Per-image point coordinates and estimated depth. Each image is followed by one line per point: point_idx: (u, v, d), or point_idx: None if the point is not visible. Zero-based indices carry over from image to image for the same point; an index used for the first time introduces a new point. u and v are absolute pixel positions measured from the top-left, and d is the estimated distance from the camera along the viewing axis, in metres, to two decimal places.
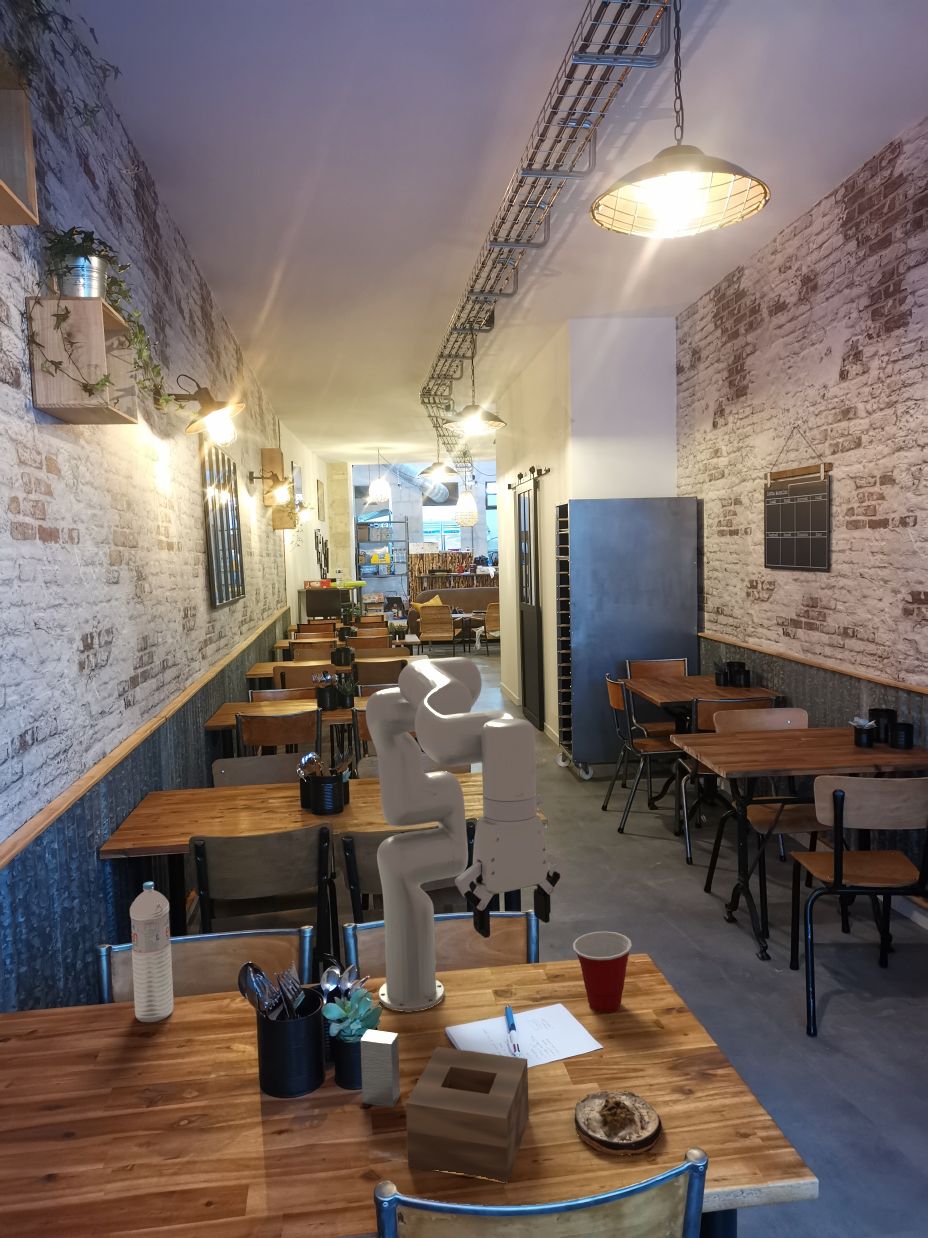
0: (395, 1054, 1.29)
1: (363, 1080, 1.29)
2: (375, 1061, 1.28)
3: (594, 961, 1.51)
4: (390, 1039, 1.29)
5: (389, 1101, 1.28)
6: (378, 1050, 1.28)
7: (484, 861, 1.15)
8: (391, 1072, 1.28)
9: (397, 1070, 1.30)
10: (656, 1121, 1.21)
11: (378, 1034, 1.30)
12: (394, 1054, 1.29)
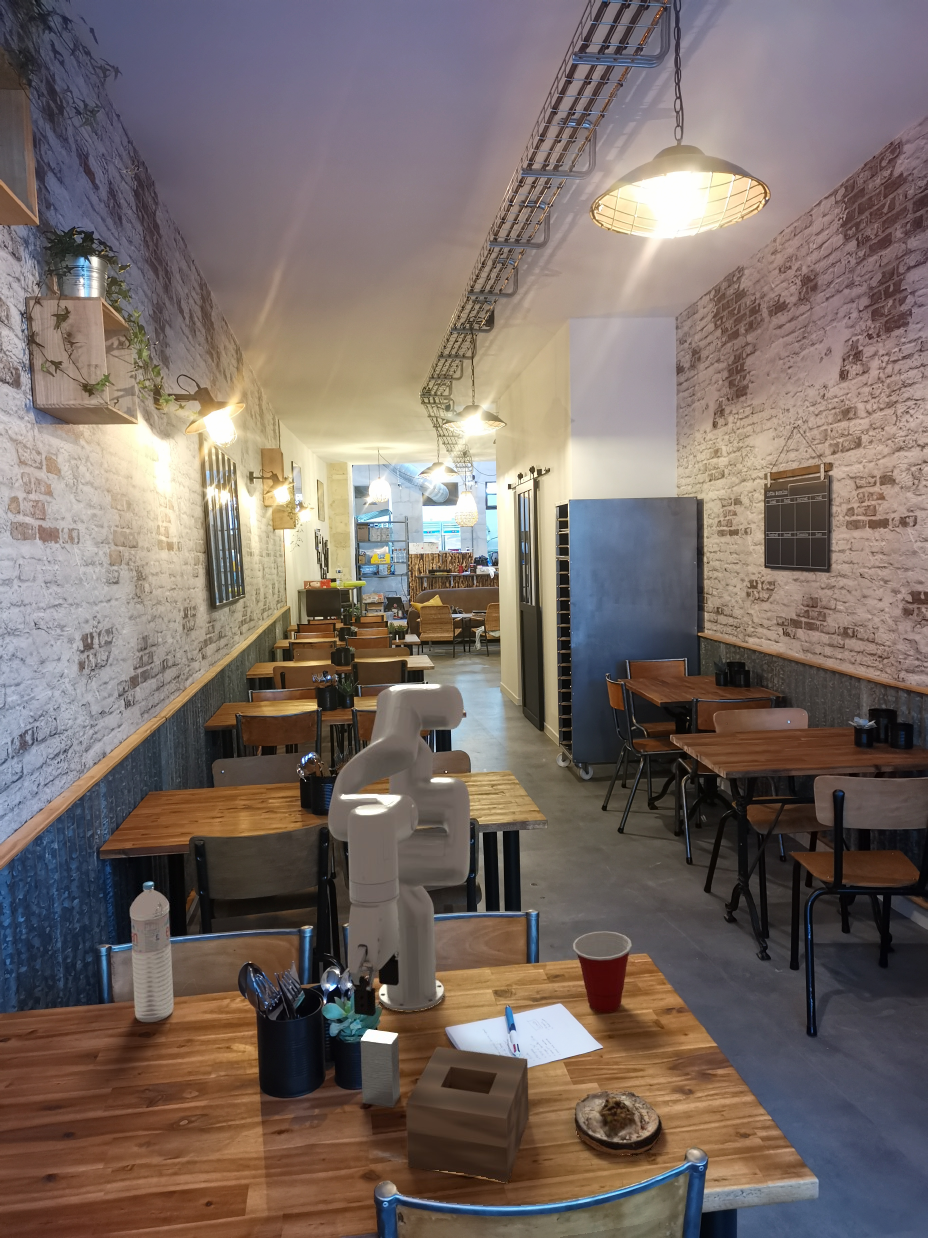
0: (395, 1054, 1.29)
1: (363, 1080, 1.29)
2: (375, 1061, 1.28)
3: (594, 961, 1.51)
4: (391, 1039, 1.29)
5: (389, 1101, 1.28)
6: (378, 1050, 1.28)
7: (370, 944, 1.23)
8: (391, 1072, 1.28)
9: (397, 1070, 1.30)
10: (656, 1121, 1.21)
11: (378, 1034, 1.30)
12: (394, 1054, 1.29)
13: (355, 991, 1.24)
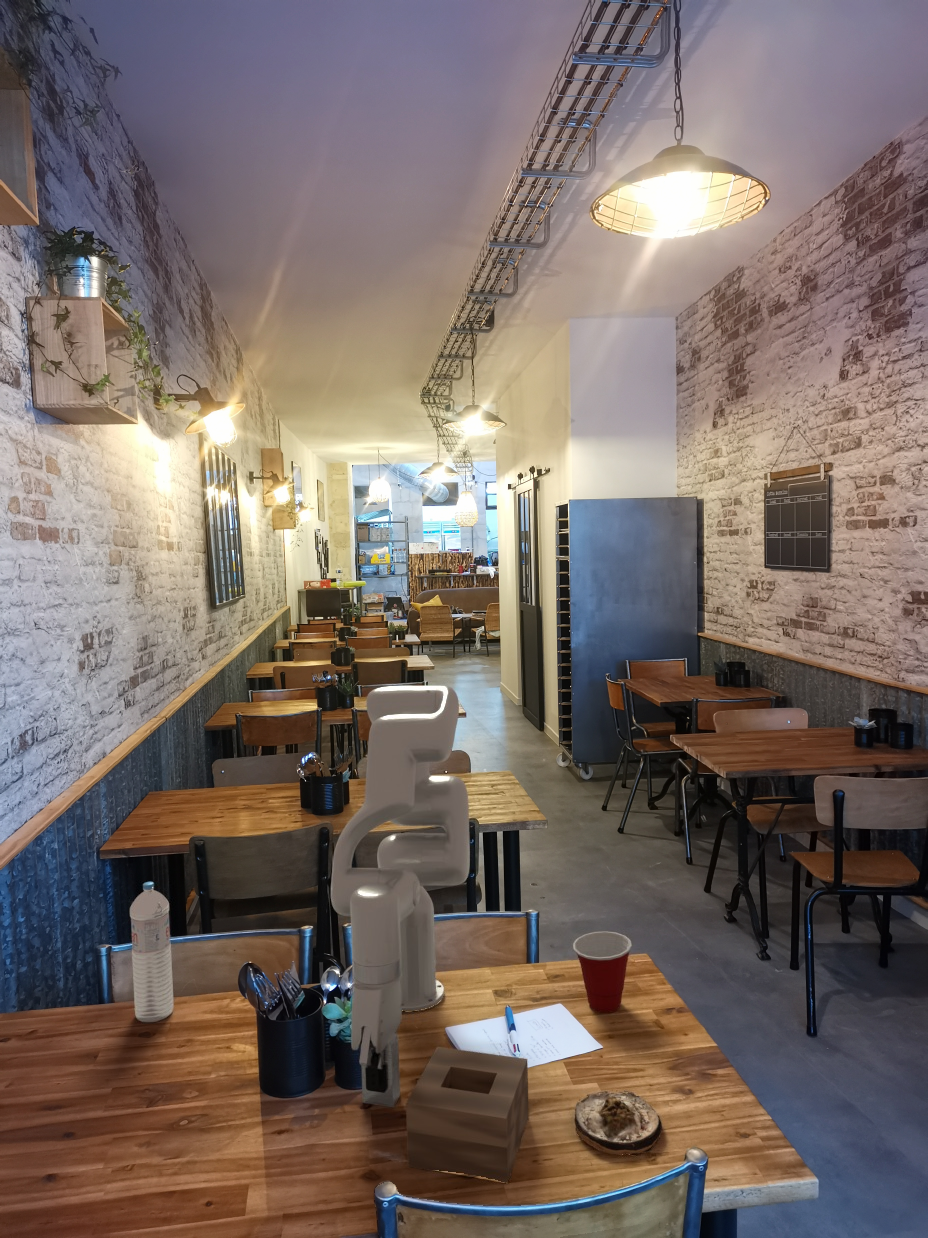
0: (395, 1054, 1.29)
1: (363, 1080, 1.29)
2: None
3: (594, 961, 1.51)
4: None
5: (389, 1101, 1.28)
6: None
7: (373, 1026, 1.24)
8: (391, 1072, 1.28)
9: (397, 1070, 1.30)
10: (656, 1121, 1.21)
11: None
12: (394, 1054, 1.29)
13: (367, 1068, 1.28)
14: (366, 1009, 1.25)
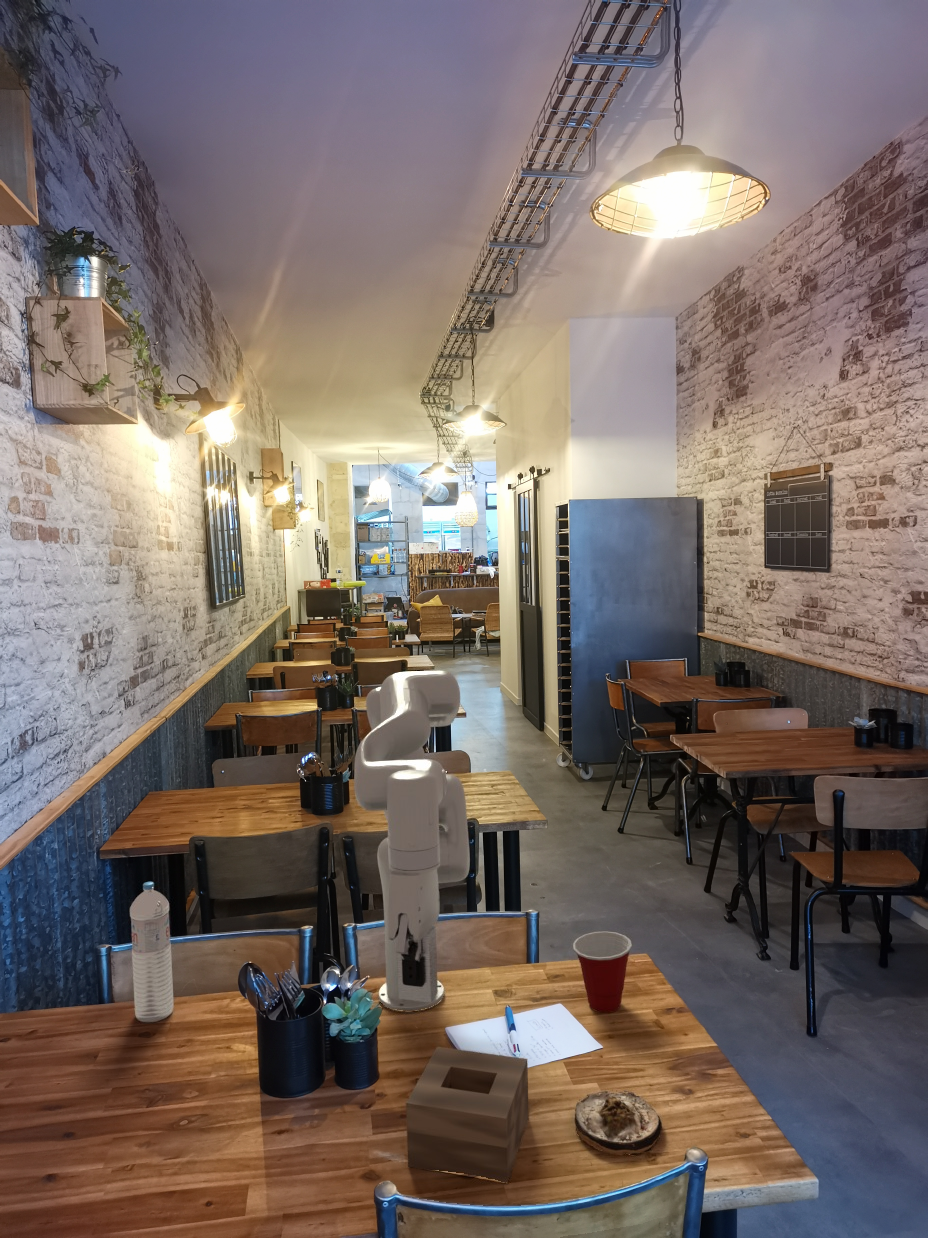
0: (432, 947, 1.23)
1: (399, 974, 1.23)
2: None
3: (594, 961, 1.51)
4: None
5: (426, 996, 1.22)
6: None
7: (411, 913, 1.18)
8: (429, 965, 1.22)
9: (435, 965, 1.24)
10: (656, 1121, 1.21)
11: None
12: (431, 947, 1.22)
13: (403, 961, 1.22)
14: (403, 895, 1.19)
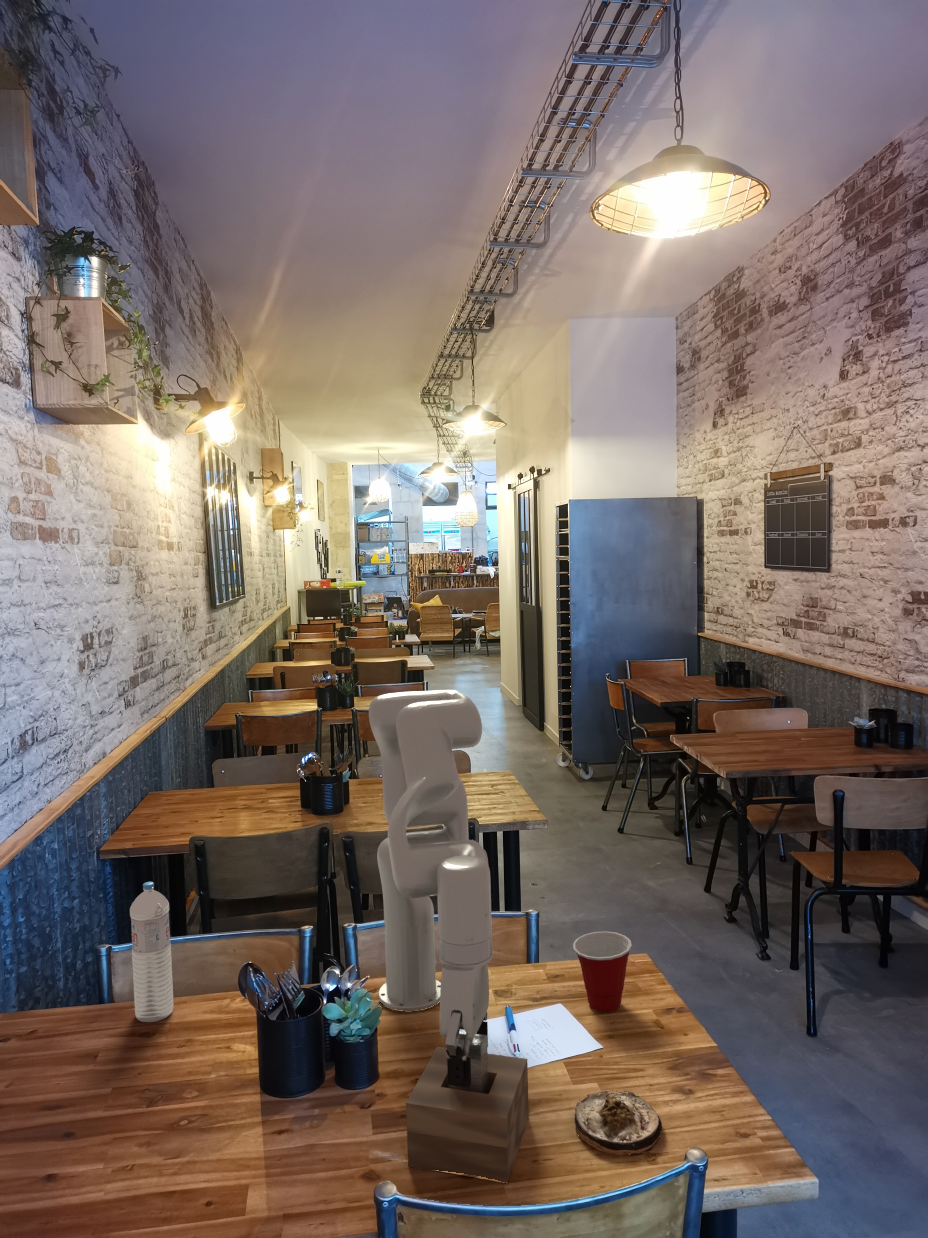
0: (484, 1058, 1.19)
1: (450, 1085, 1.19)
2: None
3: (594, 961, 1.51)
4: (480, 1042, 1.18)
5: None
6: None
7: (465, 1010, 1.14)
8: (481, 1077, 1.17)
9: (486, 1075, 1.19)
10: (656, 1121, 1.21)
11: None
12: (483, 1058, 1.18)
13: (449, 1060, 1.15)
14: (457, 991, 1.14)
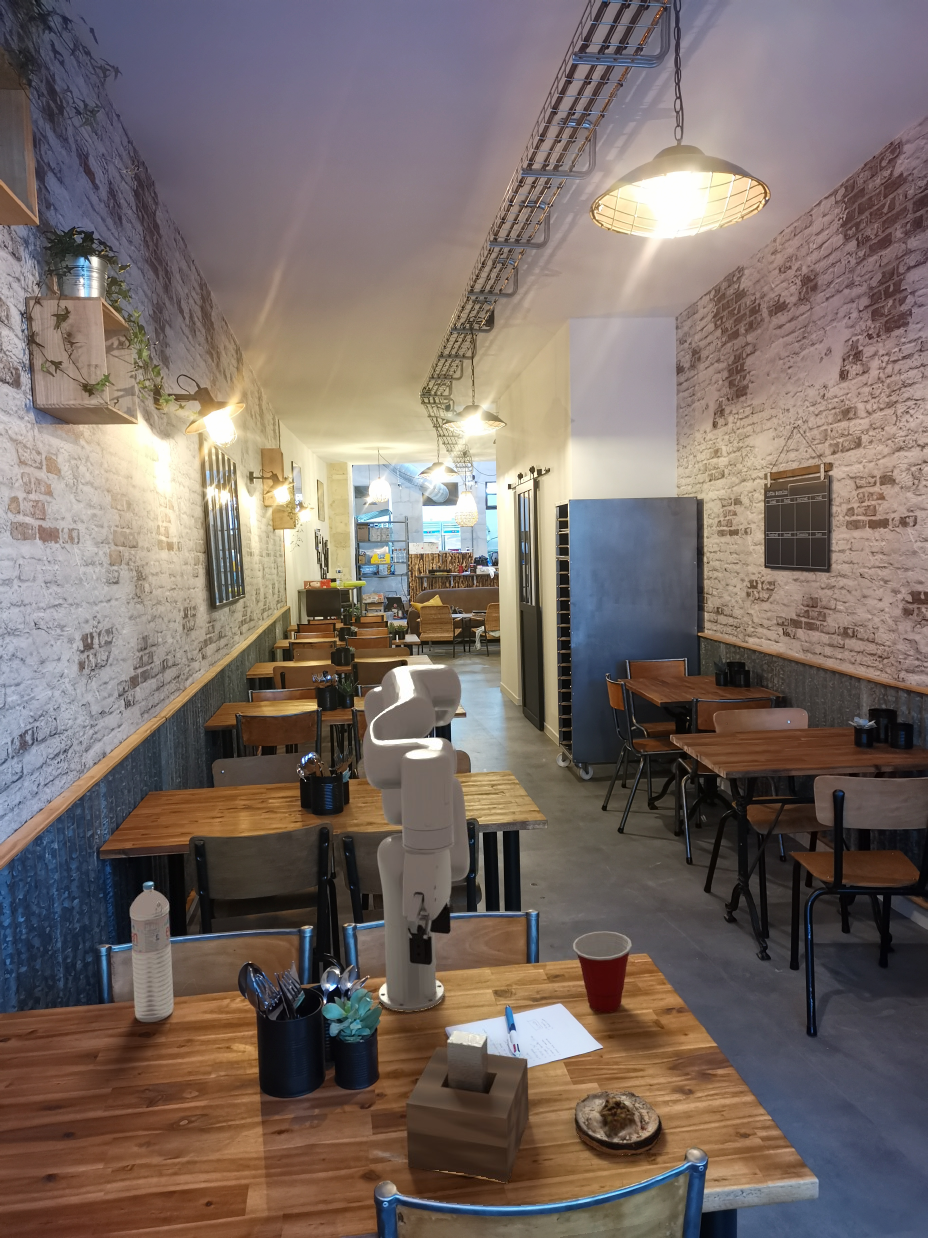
0: (484, 1058, 1.19)
1: (450, 1085, 1.19)
2: (463, 1065, 1.18)
3: (594, 961, 1.51)
4: (480, 1042, 1.18)
5: None
6: (466, 1053, 1.18)
7: (427, 892, 1.19)
8: (481, 1077, 1.17)
9: (486, 1075, 1.19)
10: (656, 1121, 1.21)
11: (465, 1036, 1.20)
12: (483, 1058, 1.18)
13: (411, 940, 1.20)
14: (419, 874, 1.19)
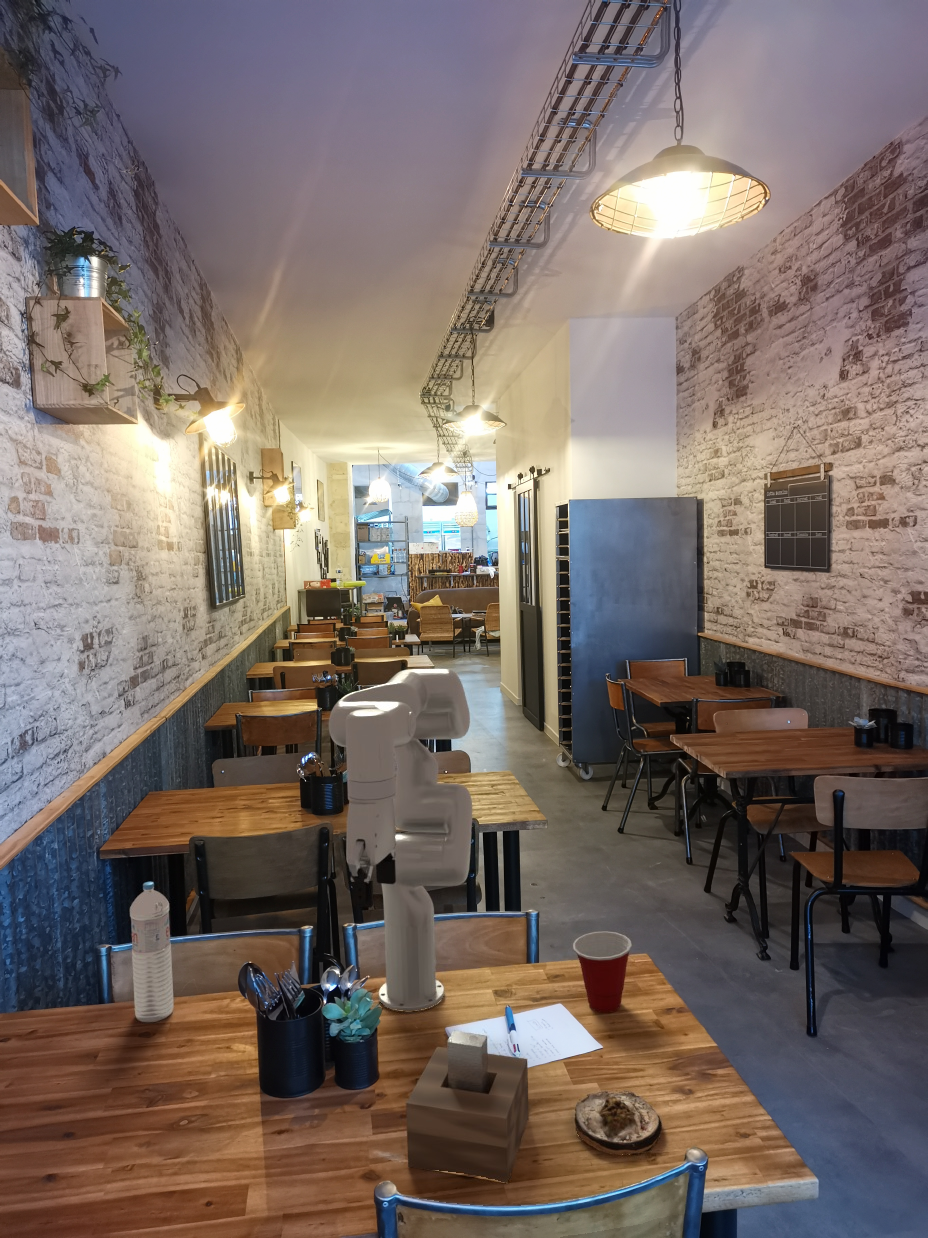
0: (484, 1058, 1.19)
1: (450, 1085, 1.19)
2: (463, 1065, 1.18)
3: (594, 961, 1.51)
4: (480, 1042, 1.18)
5: None
6: (466, 1053, 1.18)
7: (368, 838, 1.28)
8: (481, 1077, 1.17)
9: (486, 1075, 1.19)
10: (656, 1121, 1.21)
11: (465, 1036, 1.20)
12: (483, 1058, 1.18)
13: (353, 884, 1.29)
14: (361, 822, 1.28)
